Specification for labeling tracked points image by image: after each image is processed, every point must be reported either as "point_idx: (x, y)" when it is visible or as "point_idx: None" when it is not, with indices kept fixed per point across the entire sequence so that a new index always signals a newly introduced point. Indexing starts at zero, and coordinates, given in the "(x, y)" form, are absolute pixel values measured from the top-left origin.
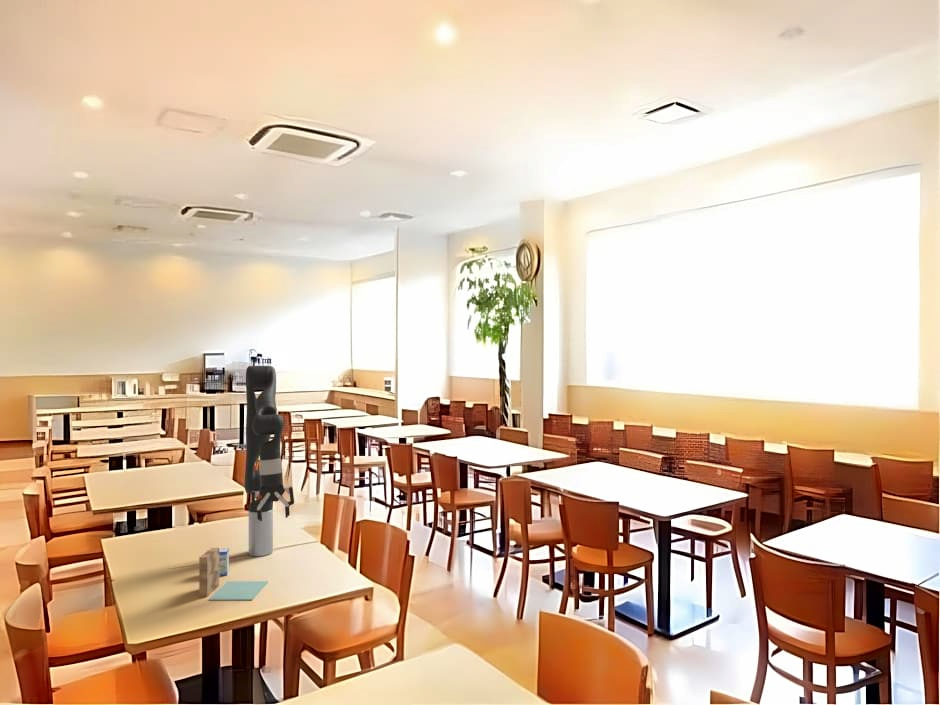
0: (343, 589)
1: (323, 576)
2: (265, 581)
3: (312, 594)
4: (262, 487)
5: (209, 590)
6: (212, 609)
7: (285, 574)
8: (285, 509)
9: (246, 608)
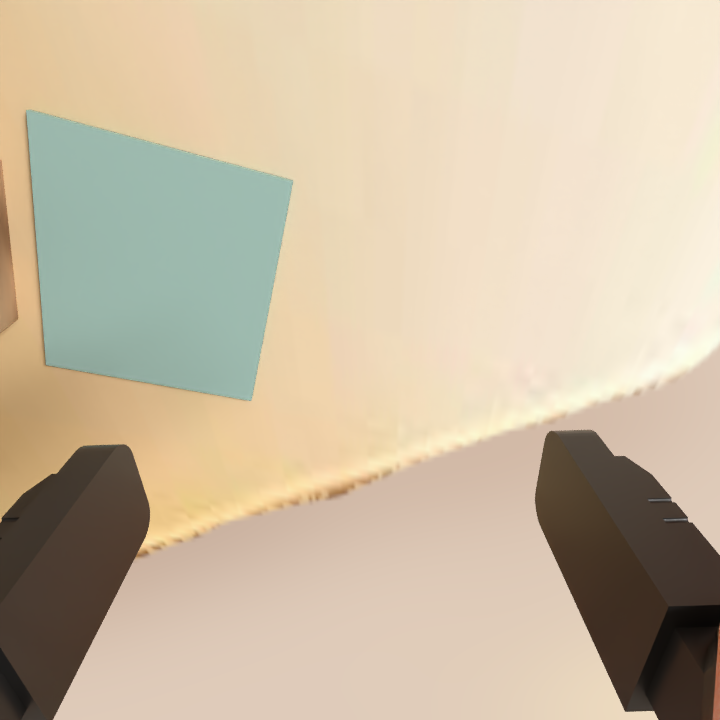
0: (631, 365)
1: (608, 164)
2: (279, 184)
3: (498, 388)
4: None
5: (2, 304)
6: None
7: (395, 47)
8: (606, 658)
9: (245, 459)
